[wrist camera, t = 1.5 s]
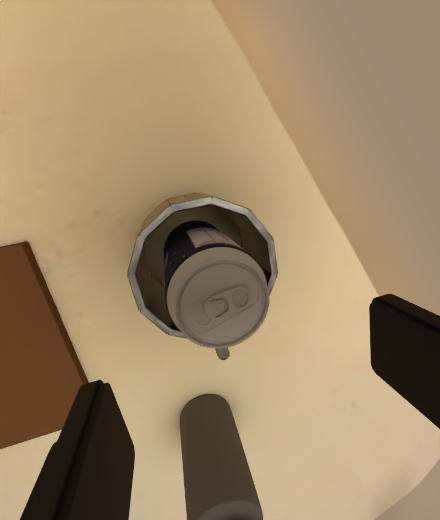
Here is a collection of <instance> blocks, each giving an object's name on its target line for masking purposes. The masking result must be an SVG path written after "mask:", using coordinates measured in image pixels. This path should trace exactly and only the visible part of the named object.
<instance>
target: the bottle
mask: <svg viewBox="0 0 440 520" xmlns="http://www.w3.org/2000/svg"><path fill="white" fill-rule="evenodd" d="M180 433H181V447H182V460H183V474H184V487H185V499H186V511H187V520H263V513H262V509H261V506H260V502H259V499H258V496H257V492H256V489H255V485H254V482H253V479H252V476H251V472H250V469H249V466H248V463H247V459H246V456H245V453H244V450H243V446H242V443H241V440H240V437H239V433H238V430H237V427H236V424H235V421H234V418H233V415H232V412H231V409H230V406H229V404H228V403H227V401H226V400H225V399H223V398H222V397H220V396H217V395H203V396H200V397H197V398H195V399H193V400H192V401H190V402H189V403H188V404H187V405H186V406H185V407H184V409H183V410H182V412H181V415H180Z"/></svg>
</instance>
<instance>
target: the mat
mask: <svg viewBox="0 0 440 520" xmlns="http://www.w3.org/2000/svg"><path fill="white" fill-rule="evenodd" d="M84 384H88V381H87V379H86V377H85V374H84V372H83V370H82V367H81V365H80V363H79V360H78V358H77V356H76V353H75V351H74V349H73V346H72V344H71V342H70V339H69V337H68V335H67V332H66V330H65V328H64V325H63V323H62V321H61V318H60V316H59V314H58V311H57V309H56V307H55V304H54V302H53V300H52V297H51V295H50V293H49V291H48V288H47V286H46V284H45V281H44V279H43V277H42V274H41V272H40V270H39V267H38V265H37V263H36V260H35V258H34V256H33V253H32V251H31V249H30V246H29V244H28V242H22V243H17V244H13V245H8V246H3V247H0V449H2V448H5V447H8V446H12V445H15V444H18V443H21V442H24V441H27V440H31V439H34V438H37V437H40V436H43V435H46V434H49V433H53V432H56V431H59V430H62V428H63V426H64V424H65V421H66V419H67V416H68V414H69V412H70V409H71V407H72V404H73V402H74V400H75V397H76V395H77V392H78V390H79V388H80V386H82V385H84Z"/></svg>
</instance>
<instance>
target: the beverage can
mask: <svg viewBox="0 0 440 520" xmlns="http://www.w3.org/2000/svg"><path fill="white" fill-rule="evenodd" d="M164 277H165V303H166V308H167V312H168V314H169V316H170V318H171V320H172V322H173V323H174V324H175V326H176V327H177V328H178V329H179V330H180V331H182V333H183V334H184V335H185V336H186V337H187V338H188V339H190V340H191V341H192V342H194V343H196V344H198V345H200V346H204V347H207V348H226V347H231V346H234V345H237V344H239V343H241V342H243V341H245V340H246V339H248V338H249V337H250V336H251V335H253V334H254V333H255V332H256V331H257V330H258V328H259V327H260V326H261V324H262V323H263V321H264V319H265V317H266V314H267V311H268V307H269V292H268V287H267V280H266V276H265V273H264V271H263V269H262V267H261V266H260V264H259V263H258V261H257V260H256V259H255V258H254V257H253V256H252V255H250V254H249V253H248V252H247V251H245V250H244V249H243V248H241V247H240V246H239V245H238V244H236V243H235V242H234V241H233V240H231V239H230V238H229V237H227V236H226V235H225V234H224V233H222V232H221V231H220V230H219V229H217V228H216V227H215V226H213V225H211V224H209V223H207V222H203V221H189V222H186V223H183V224H181V225H179V226H178V227H176V228H175V229H174V230H173V231H172V232H171V233H170V235H169V236H168V238H167V240H166V242H165V246H164Z"/></svg>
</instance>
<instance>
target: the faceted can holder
mask: <svg viewBox="0 0 440 520" xmlns="http://www.w3.org/2000/svg"><path fill="white" fill-rule="evenodd" d="M209 204H212V205H215V206H218V207H221V208H224V209H225V211H226V212H227V213H228V214H229V215H230V216H231V218H232V219H233V220H234V221H235V222H236V224H237V225H238V226H239V229H240V234H241V240H242V246H243V249H244V250H245V251H247V252H248V253H249V254H250V255H252V256H253V257H254V258H255V259H256V260H257V261H258V263H259V264H260V266H261V267H262V269H263V271H264V273H265V276H266V280H267V287H268V292H269V296H270V293H271V290H272V288H273V285H274V283H275V280H276V278H277V273H278V270H277V262H276V255H275V247H274V240H273V239H272V238H273V237H272V236H271V235H270V234H269V232H268V231H267V230H266V229H265V227H264V226H263V225H262V224H261V222H260V221H259V220H258V219H257V217H256V216H255V215H254V214H253V212H252V211H251V210H249V209H248V208H245V207H243V206H240V205H237V204H234V203H231V202H228V201H225V200H223V199H220V198H217V197H214V196H210V195H206V194H201V193H193V194H188V195H184V196H179V197H174V198H169V199H168V200H166V201H165V202H163V203H162V204H161V205H160V206H159V207H158V208H157V209H156V210H155V211H154V212H153V213H152V214H151V215H149V216H148V217H147V218H146V219H145V221H144V223H143V225H142V227H141V229H140V231H139V233H138V236H137V239H136V243H135V246H134V250H133V254H132V257H131V261H130V265H129V268H128V272H127V273H128V275H127V276H128V279H129V282H130V285H131V288H132V291H133V294H134V298H135V301H136V304H137V307H138V310H140V312H141V313H142V314H143V315H144V316H145V317H147V318H148V319H149V320H150V321H151V322H153V323H154V324H155V325H156V326H157V327H159V328H160V329H161V330H162V331H163V332H165V333H166V334H168V335H171V336H176V337H182V338H187V337H186V336H185V335H184V334H183V333H182V331H180V330H179V329H178V328H177V327H176V326H175V324H174V323H173V322H172V320H171V318H170V316H169V314H168V312H167V308H166V303H165V288H164V287H163V286H162V285H161V284H160V283H159V282H158V281H157V280H156V279H154V278H153V277H152V276H151V275H150V273H149V269H148V266H147V263H146V259H145V256H144V252H143V246H144V243H145V239H146V238H147V237H148V236H149V235H150V234H151V233H152V232H153V231H154V230H155V229H156V228H157V227H158V226H159V225H161V224H162V223H163V222H164V221H165V220H166V219H167V218H168V217H169V216H170V215H171V214H172V213H173V212H177V211H182V210H186V209H191V208H196V207H200V206H205V205H209ZM187 339H188V338H187ZM215 349H216V353H217V356H218V357H219V359H221V360H226V359H227V358H228V357H229V356H230V355H229V354H230V353H229V350H228V347H226V348H215Z"/></svg>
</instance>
